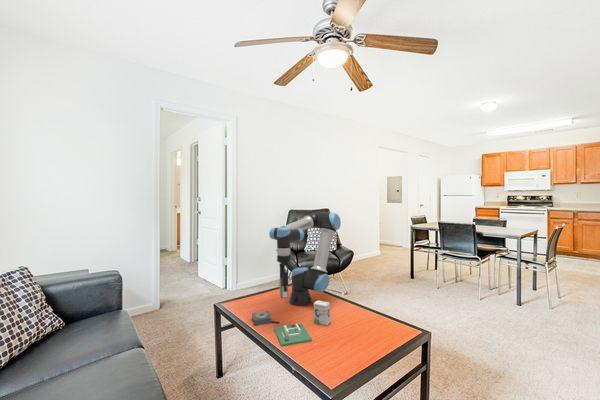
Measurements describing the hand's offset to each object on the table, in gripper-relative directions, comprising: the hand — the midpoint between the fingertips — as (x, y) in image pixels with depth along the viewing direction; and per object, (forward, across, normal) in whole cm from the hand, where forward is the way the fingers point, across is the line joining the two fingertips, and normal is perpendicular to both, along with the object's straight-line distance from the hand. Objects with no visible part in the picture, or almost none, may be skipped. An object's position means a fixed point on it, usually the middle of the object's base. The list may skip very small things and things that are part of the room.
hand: (284, 295), depth 159 cm
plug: (+1, 0, 0) cm, 1 cm away
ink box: (+17, +4, +22) cm, 28 cm away
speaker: (+17, -10, -12) cm, 23 cm away
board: (+17, +12, +2) cm, 21 cm away
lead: (+17, -4, -5) cm, 18 cm away
